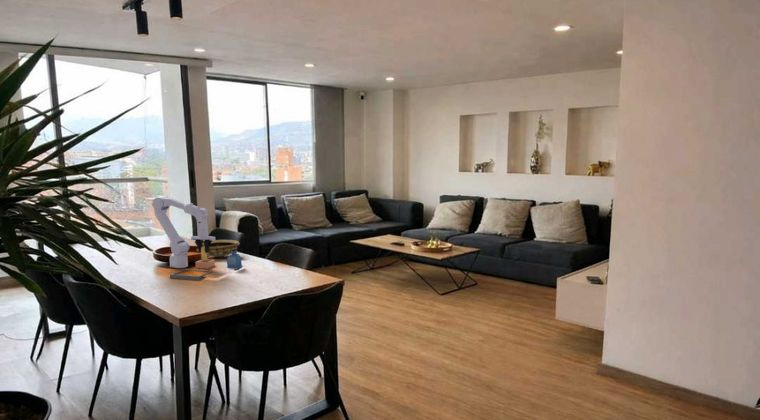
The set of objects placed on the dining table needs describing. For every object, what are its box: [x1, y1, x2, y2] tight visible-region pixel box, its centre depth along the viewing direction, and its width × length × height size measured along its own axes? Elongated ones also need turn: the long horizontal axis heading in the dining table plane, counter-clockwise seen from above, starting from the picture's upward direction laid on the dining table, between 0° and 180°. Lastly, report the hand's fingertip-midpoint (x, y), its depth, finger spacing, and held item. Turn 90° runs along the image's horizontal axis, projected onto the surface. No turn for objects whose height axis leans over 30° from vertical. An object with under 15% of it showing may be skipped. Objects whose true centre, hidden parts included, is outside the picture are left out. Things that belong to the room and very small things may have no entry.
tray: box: [169, 268, 214, 281], centre depth 274 cm, size 18×13×2 cm
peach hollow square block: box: [195, 258, 216, 270], centre depth 290 cm, size 8×8×5 cm
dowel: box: [200, 247, 208, 261], centre depth 287 cm, size 3×3×8 cm
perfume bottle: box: [226, 248, 243, 271], centre depth 290 cm, size 6×6×12 cm
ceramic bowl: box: [196, 239, 240, 260], centre depth 320 cm, size 30×24×10 cm
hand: (204, 252), depth 287 cm, fingers closed on dowel, 3 cm apart
